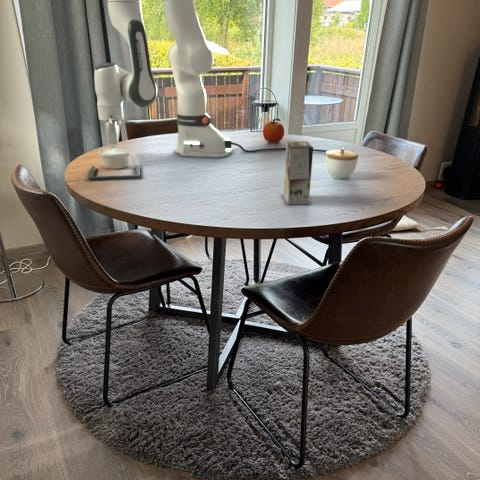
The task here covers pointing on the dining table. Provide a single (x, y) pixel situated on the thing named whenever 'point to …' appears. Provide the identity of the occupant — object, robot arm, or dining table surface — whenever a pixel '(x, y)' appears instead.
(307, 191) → the coffee box
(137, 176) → the bay
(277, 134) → the fruit
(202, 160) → the dining table surface
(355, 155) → the trinket box
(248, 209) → the dining table surface
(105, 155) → the ramekin
